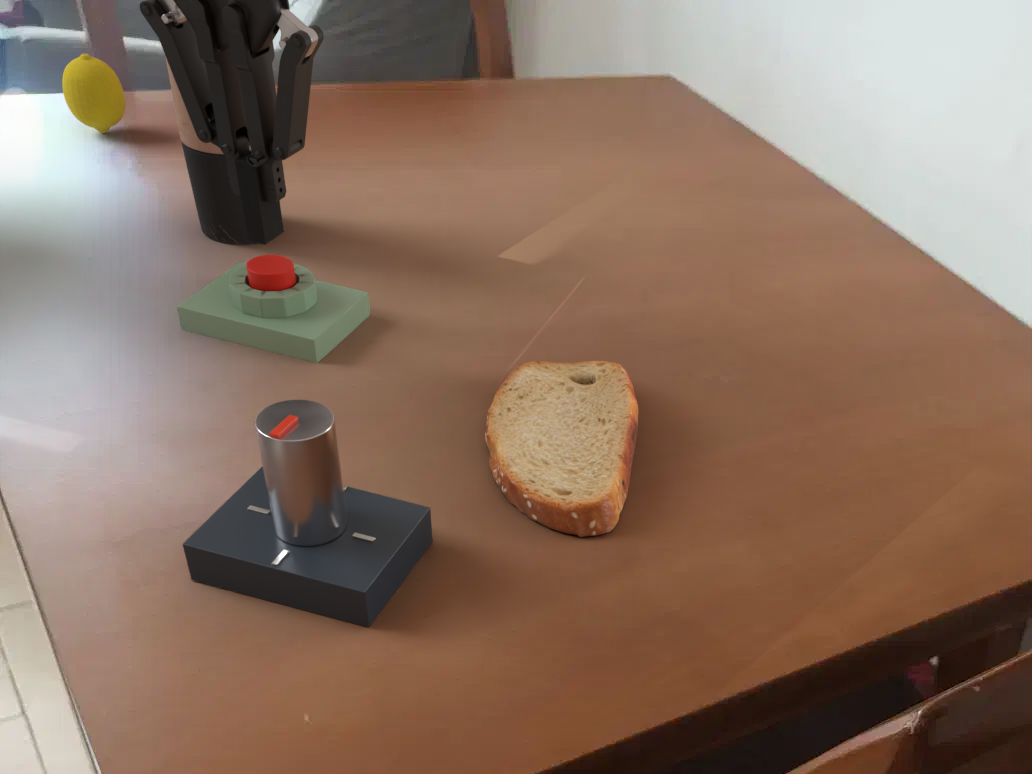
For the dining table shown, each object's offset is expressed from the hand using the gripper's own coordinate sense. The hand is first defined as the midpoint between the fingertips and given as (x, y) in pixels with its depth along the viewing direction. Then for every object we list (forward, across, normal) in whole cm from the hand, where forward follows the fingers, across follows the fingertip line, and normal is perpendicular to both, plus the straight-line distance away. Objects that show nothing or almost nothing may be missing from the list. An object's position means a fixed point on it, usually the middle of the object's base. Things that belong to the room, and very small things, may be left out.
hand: (266, 235), depth 89 cm
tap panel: (+8, +18, -26) cm, 32 cm away
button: (+4, 0, 0) cm, 4 cm away
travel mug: (+8, -12, +14) cm, 21 cm away
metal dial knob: (+5, +18, -26) cm, 32 cm away
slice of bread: (+8, +29, -7) cm, 31 cm away
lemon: (+8, -36, +27) cm, 46 cm away
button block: (+8, 0, 0) cm, 8 cm away
